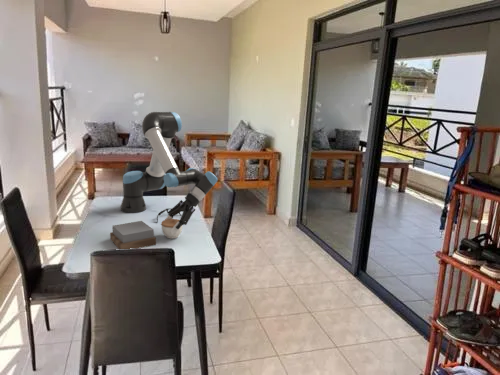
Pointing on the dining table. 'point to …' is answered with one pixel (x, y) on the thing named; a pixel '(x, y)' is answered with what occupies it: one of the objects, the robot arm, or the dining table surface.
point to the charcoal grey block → (133, 231)
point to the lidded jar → (168, 225)
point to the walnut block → (132, 244)
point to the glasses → (162, 212)
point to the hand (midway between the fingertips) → (166, 229)
